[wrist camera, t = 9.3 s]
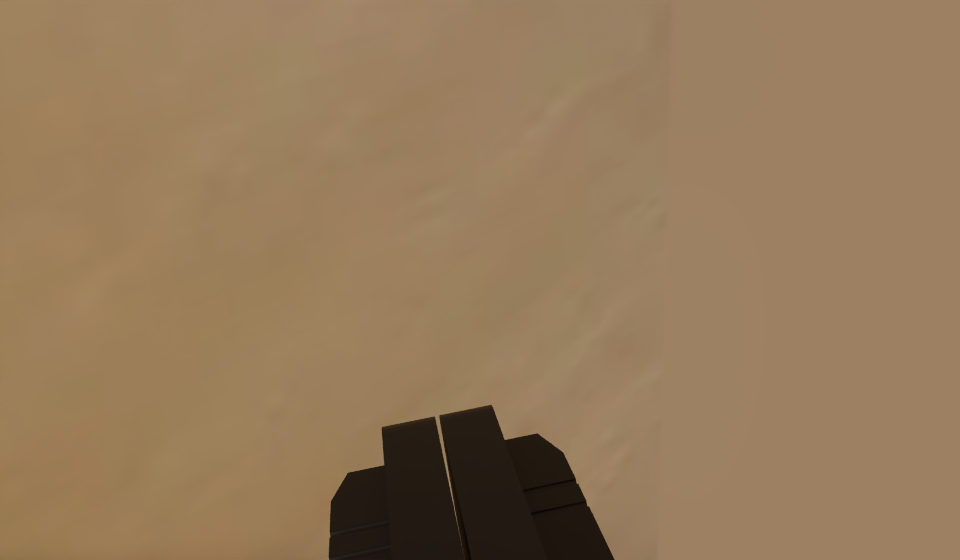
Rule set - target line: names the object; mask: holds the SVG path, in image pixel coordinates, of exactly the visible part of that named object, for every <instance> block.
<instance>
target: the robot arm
mask: <svg viewBox="0 0 960 560" xmlns="http://www.w3.org/2000/svg"><path fill="white" fill-rule="evenodd" d="M439 417H440V424H441V430H442V436H443V442H444V447H445V453H446V459H447V465H448V471H449V476H450V482H451V488H452V494H453V500H454V505H455V511H456V516H455V511H454V506H453V501H452V497H451V492H450V487H449V482H448V477H447V473H446V468H445V463H444V458H443V453H442V449H441V444H440V439H439V434H438V429H437V425H436V420H435V417H430V418H425V419H420V420H415V421H410V422H405V423H400V424H395V425H390V426H385V427H382V439H383V452H384V466H379V467H374V468H369V469H364V470H359V471H355V472H350V473H348V474H347V475H346V477H345V479H344V480H343V482H342V484H341V485H340V487H339V489H338V491H337V492H336V494H335V496H334V497H333V499H332V501H331V514H330V536H331V538H330V541H329V560H614V558H613V556H612V553H611V551H610V549H609V547H608V545H607V543H606V541H605V539H604V537H603V535H602V533H601V531H600V528H599V526H598V524H597V522H596V520H595V518H594V516H593V514H592V512H591V510H590V508H589V507H588V506H587V503H586V499H585V497H584V495H583V493H582V491H581V489H580V487H579V485H578V484H577V483H576V478H575V476H574V474H573V472H572V470H571V468H570V466H569V464H568V462H567V460H566V458H565V455H564V453H563V452H562V451H560V450H559V449H558V448H556V447H555V446H554V445H552V444H551V443H550V442H548V441H547V440H545V439H544V438H543V437H541V436H540V435H539V434H533V435H528V436H523V437H518V438H513V439H508V440H504V437H503V434H502V431H501V429H500V426H499V423H498V420H497V418H496V415H495V412H494V409H493V407H492V405H488V406H483V407H478V408H473V409H469V410H464V411H459V412H454V413H449V414H444V415H439ZM456 517H457V521H456ZM457 522H458V525H457ZM458 528H459V530H458ZM459 533H460V535H459ZM460 538H461V540H460ZM461 543H462V545H461ZM462 548H463V549H462ZM463 553H464V554H463ZM464 558H465V559H464Z"/></svg>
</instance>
